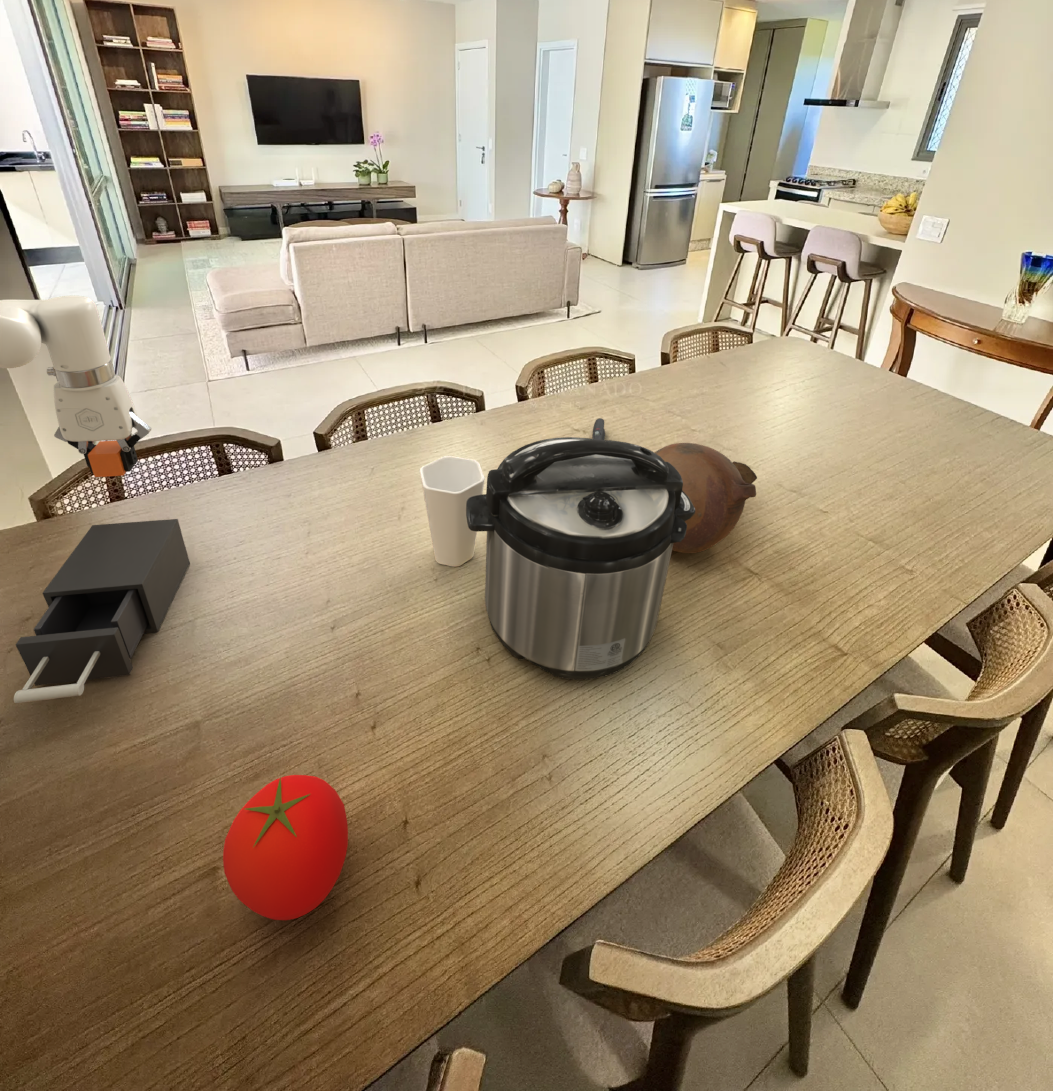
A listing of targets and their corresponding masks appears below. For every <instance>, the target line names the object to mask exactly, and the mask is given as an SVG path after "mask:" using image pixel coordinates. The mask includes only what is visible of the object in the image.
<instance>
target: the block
mask: <svg viewBox="0 0 1053 1091" xmlns="http://www.w3.org/2000/svg"><path fill="white" fill-rule="evenodd" d="M95 445H96V446H95V447H94V448H93V449H92V451H91V452H90V453H89V454H88V458H89V461H90V464H91V467H92V470H93V476H94V478H104V477H105V478H106V477H123V476H125V474H126V473H127V472H126V471H125V470H124V466H123V463H122V459H121V456H120V452H121V451H122V449H121V447H120V445H119V444H118V442H117V440H104V441H98V443H96V444H95Z"/></svg>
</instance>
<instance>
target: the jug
mask: <svg viewBox="0 0 1053 1091" xmlns="http://www.w3.org/2000/svg"><path fill="white" fill-rule="evenodd" d="M653 452H654V453H656V454H657V455H659V456H660V457H661V458H662V459H663V460H664V461H665V462H669V463H670V464H671V465H672V466H674V467H675V469H676V470H677V471H678V472H679V473H680V475H681V477H682V481H683V488H682V490H683V491H684V492H685V494H686V495H687V496H688V497H689V499H690V500H691V502H692V504H693V506H694V508H695V514H694V515H693V516H692V517H691V518H690V519H688V520H686V521H685V522H686V524H687V530H686V534H685V537H684V539H683V540H682V541H681V542H676V543H673V548H672V552H673V551H674V552H677V553H681V554H682V553H683V554H696V553H701V552H704V551H706V550H709V549H711V548H712V547H715V546H716V545H717V544H719V543H720V542H721V541H723V540H724V539H725V538H726V537H728V535H729V534H730V533H731V532H732V531H733V530H734V529H735V528H736V525H737V524H738V523H739V520H740V518H741V516H742V514H743V511H744V508H745V504H746V502H747V500H748V499H750V498H755V497H756V496H757V488H756V487H757V486H756V485H755V484H753V483H754V482H755V481H756V480H757V479H758V476H757V474H756V473H755V472H754V471H753V470H752V469H751V467H750V466H749V465H747V464H746V463H743V462H739V461H734V460H733V461H732V460H730V458H728V456H726V455H724V454H723V453H722V452H720V451H718V450H717V449H714V448H712V447H710V446H706V445H704V444H699V443H694V442H693V443H692V442H676V443H671V444H668V445H665V446H663V447H661V448H659V449H658V450H656V451H653Z"/></svg>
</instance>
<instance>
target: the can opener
mask: <svg viewBox="0 0 1053 1091" xmlns="http://www.w3.org/2000/svg"><path fill="white" fill-rule="evenodd" d="M591 439H597V440H606V429H605V419H604V418H601V417H600V418H596V420H595V421H594V423H593V427H592V437H591Z"/></svg>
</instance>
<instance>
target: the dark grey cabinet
mask: <svg viewBox="0 0 1053 1091" xmlns="http://www.w3.org/2000/svg"><path fill="white" fill-rule="evenodd" d="M190 565H191V561H190V558H189V555H188V551H187V546H186V544H185V541H184V536H183V533H182V529H181V525H180V523H179V519H178V518H171V519H169V518H168V519H158V520H144V521H143V520H141V521H130V522H117V523H115V522H114V523H104V524H102V523H101V524H92V525H91V526H90V527H89V529H88V530H87V532H85V534H84V536H83V537H82V538H81V540H80V542H79V543H78V544H77V545H76V546H75V548H74V549H73V551H72V552H71V553H70V555H69V556H68V558H67V559H66V560H65V561H64V563H63V564H62V566H61V567H60V568H59V570H58V571H57V573H56V574H55V575H54V576H53V578H52V579H51V581H50V582H49V583H48V585H47V586H46V588H45V589H44V590H43V591H42V596H43V598H44V601H45V602H46V605H47V607H48V608H49V606H50V605H51V604H52V602H53V601H54V599H55V598H56V597H57V596H62V595H73V594H84V593H95V592H106V591H117V590H128V589H138V592H139V595H140V597H141V600H142V603H143V606H144V609H145V612H146V615H147V618H148V621H149V623H148V625H147V627H146V629H145V631H144V633H143V635H144V634H153V633H159V631H160V629H161V627H162V624H163V622H164V620H165V618H166V617H167V616H166V615H167V613H168V611H169V609H170V607H171V605H172V603H173V601H174V599H175V596H176V594H177V592H178V591H179V588H180V587H181V584H182V581H183V580H184V578H185V575H186V573H187V572H188V569H189V567H190Z"/></svg>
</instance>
